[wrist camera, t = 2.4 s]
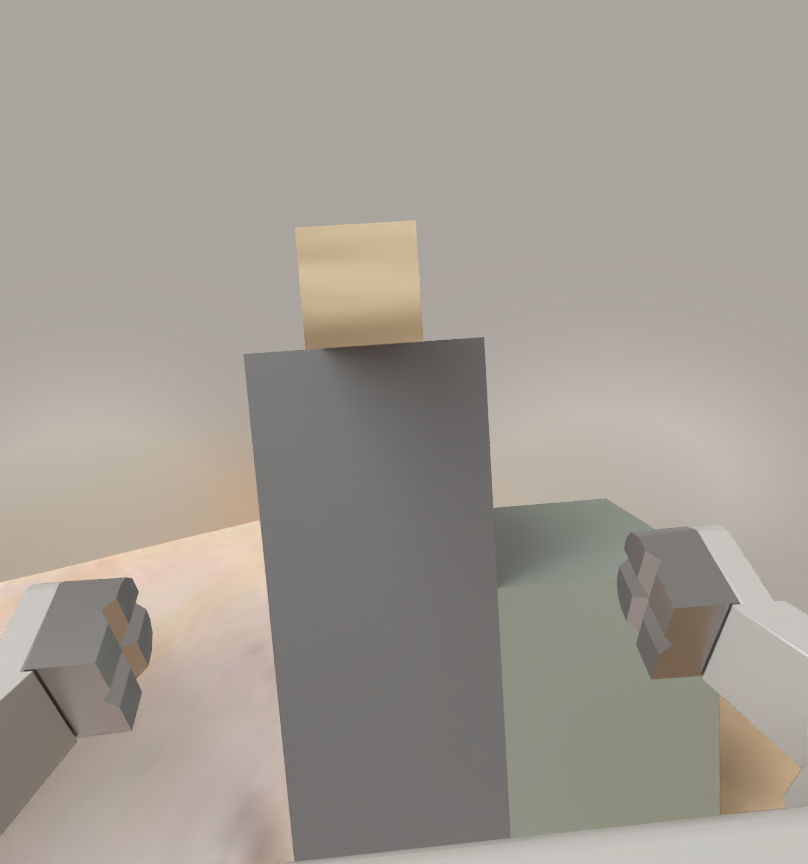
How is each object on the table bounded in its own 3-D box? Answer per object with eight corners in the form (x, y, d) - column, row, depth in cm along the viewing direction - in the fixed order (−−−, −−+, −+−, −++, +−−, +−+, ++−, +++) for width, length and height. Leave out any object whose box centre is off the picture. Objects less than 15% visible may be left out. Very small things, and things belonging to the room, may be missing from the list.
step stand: (720, 871, 32) (715, 320, 29) (300, 918, 31) (243, 354, 28) (612, 712, 46) (600, 329, 42) (319, 741, 45) (283, 351, 41)
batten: (423, 341, 20) (415, 220, 20) (305, 349, 20) (294, 227, 19) (393, 343, 40) (389, 283, 39) (334, 347, 40) (329, 287, 39)
